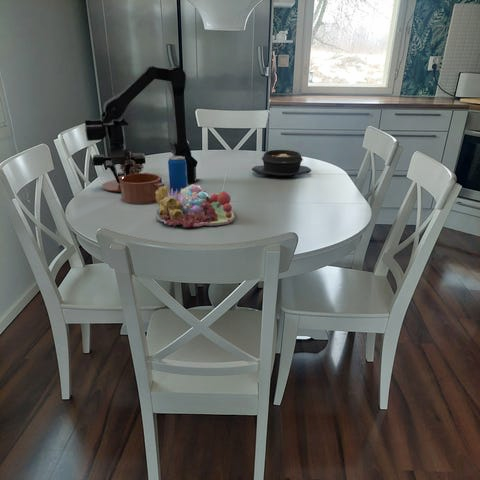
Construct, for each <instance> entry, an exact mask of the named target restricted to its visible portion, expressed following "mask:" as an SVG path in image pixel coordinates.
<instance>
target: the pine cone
mask: <svg viewBox="0 0 480 480" xmlns="http://www.w3.org/2000/svg"><path fill="white" fill-rule="evenodd" d="M134 153H135V152H134ZM134 153H133V152H131V151H130V156H134ZM144 167H145V165H143V164H136V163H135V161H134V166H132V167H131V168H130V171H129V174H128V175H130V174H137V173H142V172H143V169H144ZM119 170H121V171H120V172H124V173H125V171H126V164H124V165H122V164H119Z"/></svg>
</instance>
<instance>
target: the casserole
mask: <svg viewBox="0 0 480 480" xmlns="http://www.w3.org/2000/svg"><path fill="white" fill-rule="evenodd" d="M261 160H262V162H263V164H261V165H255V166H253V167H252V168H251V171H252V172H253V173H256V174H262V175H263V174H264V175H269V176H271V177H276V178H288V177H289V178H290V177H293V176H294V177H295V175H304V174H310V173H311V172H312V171H313V170H312V169H311V168H310V167H309V166H306V165H301V163H302V162H303V160H304V159H303V157H302V154H301V153H300V152H299V151H295V150H290V149H288V150H287V149H272V150H267V151H265V152H264V153H263V156H262V157H261Z"/></svg>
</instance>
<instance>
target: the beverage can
mask: <svg viewBox="0 0 480 480" xmlns="http://www.w3.org/2000/svg"><path fill="white" fill-rule="evenodd" d="M167 165H168V179H169V189H170V191H171V189H172V188H173V193H174V194H175V192H176V190H177V194H179V193H180V192H181V188H182V190H183V189H184V188H186V187H189V186H188V185H189V184H188V183H187V166H186V160H185V157H183V156H173V155H172V156H169V157H168V161H167Z"/></svg>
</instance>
